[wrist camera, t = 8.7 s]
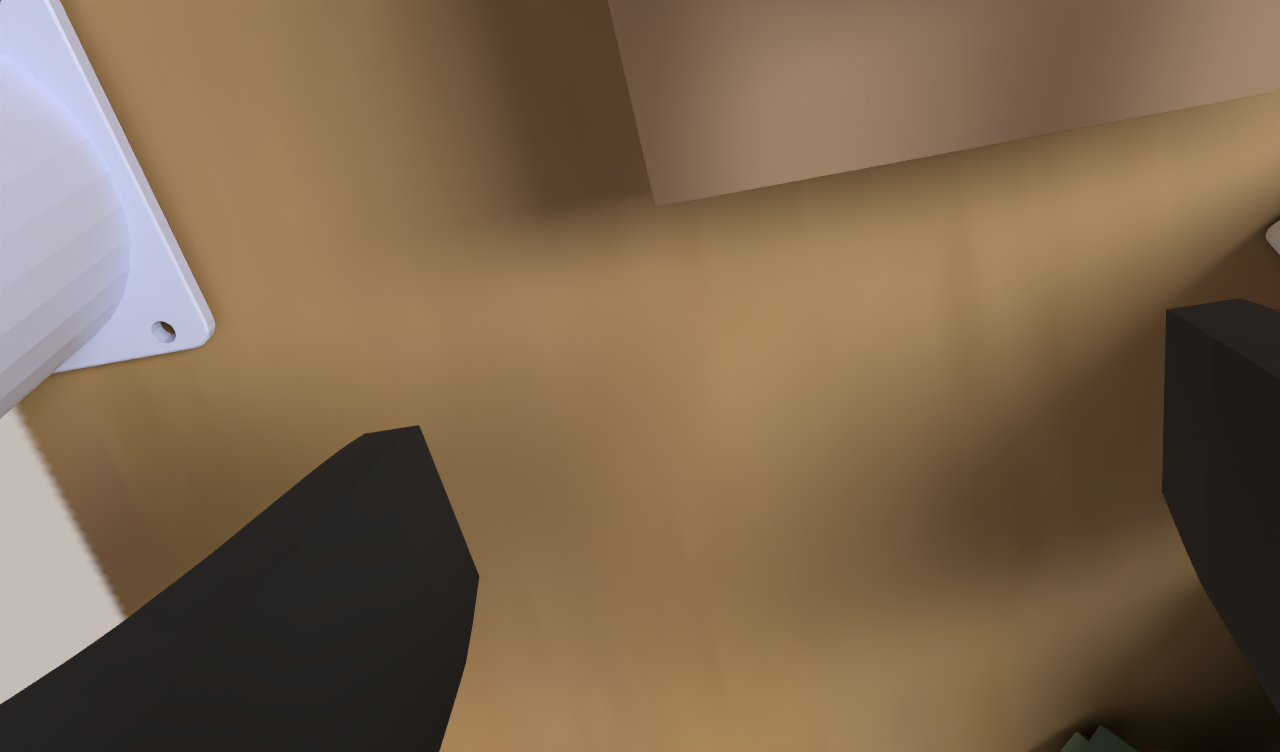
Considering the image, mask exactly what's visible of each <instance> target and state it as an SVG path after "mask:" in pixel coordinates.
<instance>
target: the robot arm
mask: <svg viewBox="0 0 1280 752" xmlns="http://www.w3.org/2000/svg"><path fill="white" fill-rule="evenodd" d="M160 321H162V322H166V323H168V324H170V325H171V326H172V327H173V329H174V330H175V333H176V334H171V333H169V332H167V331H165V329H164V328H163V327H162V326H161V322H160ZM214 331H215V322H214V318H213V315H212V313H211V311H210V309H209V307H208V305H207V303H206V301H205V299H204V297H203V295H202V293H201V291H200V289H199V287H198V285H197V282H196V280H195V278H194V276H193V274H192V272H191V270H190V268H189V266H188V264H187V262H186V260H185V258H184V256H183V254H182V252H181V249H180V247H179V245H178V243H177V241H176V239H175V237H174V235H173V233H172V231H171V229H170V227H169V225H168V223H167V221H166V219H165V216H164V214H163V212H162V210H161V208H160V206H159V204H158V202H157V200H156V198H155V196H154V194H153V192H152V190H151V188H150V186H149V183H148V181H147V179H146V177H145V175H144V173H143V171H142V169H141V167H140V165H139V163H138V161H137V159H136V157H135V155H134V153H133V150H132V148H131V146H130V144H129V142H128V140H127V138H126V136H125V134H124V132H123V130H122V128H121V126H120V124H119V122H118V120H117V117H116V115H115V113H114V111H113V109H112V107H111V105H110V103H109V101H108V99H107V97H106V95H105V93H104V91H103V89H102V87H101V85H100V82H99V80H98V78H97V76H96V74H95V72H94V70H93V68H92V66H91V64H90V62H89V60H88V58H87V56H86V54H85V52H84V49H83V47H82V45H81V43H80V41H79V39H78V37H77V35H76V33H75V31H74V29H73V27H72V25H71V23H70V21H69V19H68V16H67V14H66V12H65V10H64V8H63V6H62V4H61V2H60V0H1V1H0V418H2V417H3V416H4V415H5V414H6V413H7V412H8V411H10V410H11V409H12V408H13V407H14V406H15V405H16V404H18V403H19V402H20V401H21V400H22V399H23V398H24V397H25V396H27V395H28V394H29V393H30V392H31V391H32V390H33V389H35V388H36V387H37V386H38V385H39V384H40V383H41V382H43V381H44V380H45V379H46V378H47V377H48V376H49V375H51V374H52V373H57V372H63V371H69V370H74V369H80V368H86V367H91V366H97V365H103V364H108V363H114V362H119V361H125V360H131V359H136V358H142V357H148V356H153V355H159V354H165V353H170V352H176V351H181V350H187V349H193V348H197V347H199V346H202V345H204V344H205V343H206V341H207V340H208V339H209V338H210V337H211V336H212V335H213V333H214ZM1162 493H1163V495H1164V498H1165V500H1166V503H1167V505H1168V508H1169V510H1170V512H1171V515H1172V517H1173V520H1174V522H1175V525H1176V527H1177V530H1178V532H1179V534H1180V537H1181V539H1182V542H1183V544H1184V546H1185V549H1186V551H1187V553H1188V555H1189V558H1190V560H1191V562H1192V565H1193V567H1194V569H1195V571H1196V574H1197V576H1198V578H1199V580H1200V583H1201V585H1202V586H1203V588H1204V590H1205V591H1206V593H1207V595H1208V597H1209V598H1210V600H1211V602H1212V603H1213V605H1214V607H1215V609H1216V610H1217V612H1218V614H1219V615H1220V617H1221V619H1222V620H1223V622H1224V624H1225V625H1226V627H1227V629H1228V630H1229V632H1230V634H1231V635H1232V637H1233V639H1234V640H1235V642H1236V644H1237V645H1238V647H1239V649H1240V650H1241V652H1242V654H1243V655H1244V657H1245V659H1246V660H1247V662H1248V664H1249V665H1250V667H1251V669H1252V670H1253V672H1254V674H1255V675H1256V677H1257V678H1258V680H1259V682H1260V683H1261V685H1262V687H1263V688H1264V690H1265V692H1266V693H1267V695H1268V697H1269V698H1270V700H1271V701H1272V703H1273V705H1274V706H1275V708H1276V710H1277V711H1278V713H1279V715H1280V312H1278V311H1276V310H1273V309H1270V308H1268V307H1265V306H1262V305H1259V304H1256V303H1253V302H1250V301H1247V300H1244V299H1241V298H1239V299H1232V300H1226V301H1219V302H1213V303H1206V304H1200V305H1193V306H1187V307H1180V308H1174V309H1167V310H1166V344H1165V387H1164V430H1163V473H1162ZM478 582H479V574H478V572H477V569H476V567H475V564H474V562H473V559H472V557H471V554H470V552H469V549H468V547H467V544H466V542H465V539H464V537H463V534H462V532H461V529H460V527H459V524H458V522H457V519H456V517H455V514H454V512H453V509H452V507H451V504H450V502H449V499H448V497H447V494H446V492H445V489H444V487H443V484H442V482H441V479H440V477H439V474H438V472H437V469H436V466H435V464H434V461H433V459H432V456H431V454H430V451H429V449H428V446H427V444H426V441H425V439H424V436H423V434H422V431H421V429H420V426H419V425H418V426H411V427H405V428H398V429H392V430H385V431H379V432H372V433H366V434H364V435H362V436H360V437H359V438H357V439H356V440H354V441H353V442H351V443H349V444H348V445H346V446H345V447H344V448H342V449H341V450H339V451H338V452H337V453H335V454H334V455H333V456H331V457H330V458H329V459H327V460H326V461H325V462H324V463H322V464H321V465H320V466H318V467H317V468H316V469H315V470H313V471H312V472H311V473H310V474H308V475H307V476H306V477H305V478H303V479H302V480H301V481H300V482H299V483H297V484H296V485H295V486H294V487H292V488H291V489H290V490H289V491H287V492H286V493H285V494H284V495H283V496H281V497H280V498H279V499H278V500H277V501H275V502H274V503H273V504H272V505H270V506H269V507H268V508H267V509H266V510H264V511H263V512H262V513H261V514H259V515H258V516H257V517H256V518H255V519H253V520H252V521H251V522H250V523H248V524H247V525H246V526H245V527H244V528H242V529H241V530H240V531H239V532H237V533H236V534H235V535H234V536H233V537H231V538H230V539H229V540H228V541H226V542H225V543H224V544H223V545H222V546H220V547H219V548H218V549H217V550H215V551H214V552H213V553H212V554H210V555H209V556H208V557H207V558H205V559H204V560H203V561H201V562H200V563H199V564H197V565H196V566H195V567H194V568H192V569H191V570H190V571H188V572H187V573H186V574H184V575H183V576H182V577H181V578H179V579H178V580H177V581H175V582H174V583H173V584H171V585H170V586H169V587H167V588H166V589H165V590H164V591H162V592H161V593H160V594H158V595H157V596H156V597H154V598H153V599H152V600H151V601H149V602H148V603H147V604H145V605H144V606H143V607H141V608H140V609H139V610H137V611H136V612H135V613H134V614H132V615H131V616H130V617H128V618H127V619H126V620H124V621H123V622H122V623H120V624H119V625H118V626H116V627H115V628H113V629H112V630H111V631H109V632H108V633H106V634H105V635H104V636H102V637H101V638H100V639H98V640H97V641H95V642H94V643H92V644H91V645H90V646H88V647H87V648H85V649H84V650H82V651H81V652H79V653H78V654H77V655H75V656H74V657H72V658H71V659H69V660H68V661H66V662H65V663H64V664H62V665H60V666H59V667H57V668H56V669H54V670H52V671H51V672H49V673H48V674H46V675H45V676H43V677H42V678H40V679H39V680H37V681H36V682H34V683H33V684H31V685H30V686H28V687H27V688H25V689H24V690H22V691H20V692H19V693H17V694H16V695H14V696H13V697H11V698H10V699H8V700H7V701H5V702H3V703H2V704H0V752H439V750H440V747H441V744H442V741H443V738H444V734H445V731H446V728H447V725H448V721H449V718H450V715H451V711H452V708H453V705H454V701H455V698H456V695H457V691H458V688H459V685H460V681H461V678H462V674H463V671H464V667H465V664H466V659H467V653H468V647H469V642H470V636H471V630H472V625H473V618H474V611H475V603H476V596H477V589H478Z"/></svg>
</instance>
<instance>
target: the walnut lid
mask: <svg viewBox="0 0 1280 752" xmlns="http://www.w3.org/2000/svg"><path fill="white" fill-rule="evenodd" d="M607 1H608V5H609V10H610V14H611V18H612V23H613V27H614V31H615V36H616V40H617V44H618V48H619V53H620V57H621V61H622V66H623V70H624V74H625V78H626V83H627V87H628V91H629V96H630V100H631V104H632V109H633V113H634V117H635V121H636V126H637V130H638V134H639V139H640V143H641V147H642V152H643V156H644V160H645V164H646V169H647V173H648V177H649V182H650V186H651V190H652V194H653V199H654V203H655V207H659V206H665V205H670V204H675V203H681V202H686V201H691V200H697V199H702V198H708V197H713V196H718V195H724V194H729V193H734V192H740V191H745V190H751V189H756V188H761V187H767V186H772V185H777V184H783V183H788V182H794V181H799V180H804V179H810V178H815V177H820V176H826V175H831V174H837V173H842V172H847V171H853V170H858V169H863V168H869V167H874V166H880V165H885V164H890V163H896V162H901V161H906V160H912V159H917V158H923V157H928V156H933V155H939V154H944V153H949V152H955V151H960V150H966V149H971V148H976V147H982V146H987V145H992V144H998V143H1003V142H1009V141H1014V140H1019V139H1025V138H1030V137H1035V136H1041V135H1046V134H1052V133H1057V132H1062V131H1068V130H1073V129H1078V128H1084V127H1089V126H1095V125H1100V124H1105V123H1111V122H1116V121H1121V120H1127V119H1132V118H1138V117H1143V116H1148V115H1154V114H1159V113H1164V112H1170V111H1175V110H1181V109H1186V108H1191V107H1197V106H1202V105H1207V104H1213V103H1218V102H1224V101H1229V100H1234V99H1240V98H1245V97H1250V96H1256V95H1261V94H1267V93H1272V92H1277V91H1280V0H607Z"/></svg>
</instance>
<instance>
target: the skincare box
mask: <svg viewBox="0 0 1280 752" xmlns="http://www.w3.org/2000/svg"><path fill="white" fill-rule="evenodd" d="M1266 238H1267V241H1268V242H1269V243H1270V244H1271V246H1272V247H1273V248H1274V249H1275V250H1276V251H1277V252H1278V253H1279V254H1280V220H1279V221H1278V222H1276V223H1275V224H1273V225H1272V226H1271V227H1270V228H1269V229H1268V230H1267V232H1266Z"/></svg>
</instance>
